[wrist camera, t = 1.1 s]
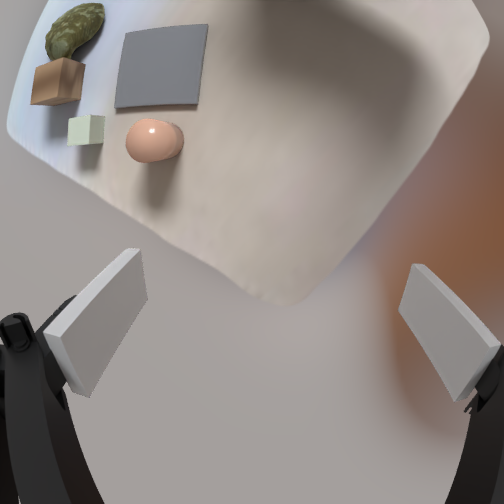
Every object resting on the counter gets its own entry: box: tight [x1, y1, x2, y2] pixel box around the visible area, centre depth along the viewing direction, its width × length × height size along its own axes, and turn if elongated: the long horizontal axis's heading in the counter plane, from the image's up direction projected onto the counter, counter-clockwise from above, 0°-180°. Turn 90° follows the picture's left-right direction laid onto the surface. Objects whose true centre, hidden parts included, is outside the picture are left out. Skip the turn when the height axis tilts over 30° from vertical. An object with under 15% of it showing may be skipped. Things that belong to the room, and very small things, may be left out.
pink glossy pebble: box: [126, 119, 184, 163], centre depth 30 cm, size 5×5×7 cm
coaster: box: [114, 24, 208, 108], centre depth 29 cm, size 12×12×1 cm
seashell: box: [45, 3, 105, 61], centre depth 24 cm, size 10×7×10 cm
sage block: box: [67, 115, 105, 146], centre depth 30 cm, size 4×4×4 cm
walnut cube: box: [30, 57, 86, 106], centre depth 26 cm, size 6×6×6 cm
